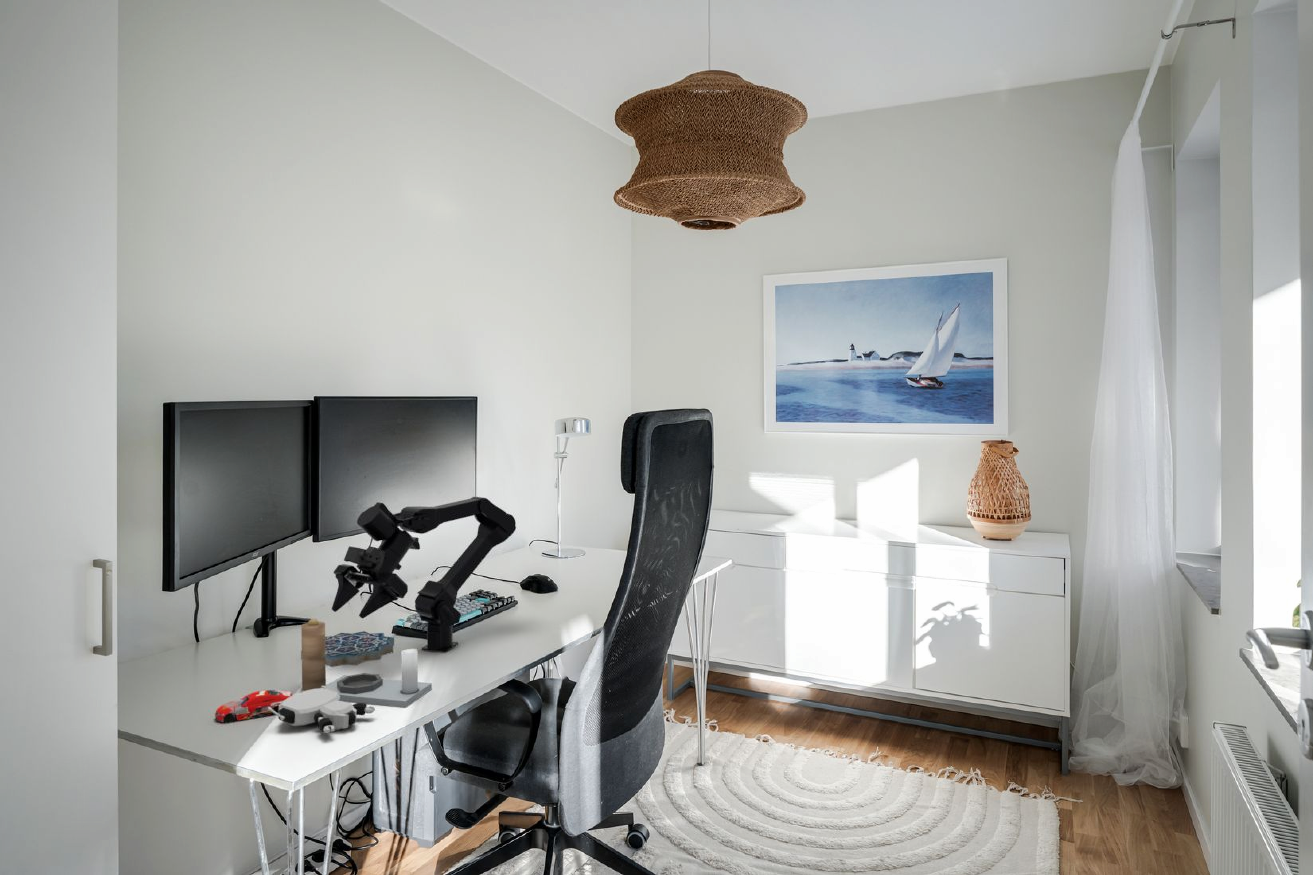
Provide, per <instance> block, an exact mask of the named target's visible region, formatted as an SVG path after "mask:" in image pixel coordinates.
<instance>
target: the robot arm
mask: <svg viewBox="0 0 1313 875" xmlns="http://www.w3.org/2000/svg"><path fill="white" fill-rule="evenodd" d="M473 516H474V518H475V520H476V521H477V522H478V523H479V525H478V528H477V534H476V536H475V537H474V539H473V541H471V543H470V544H469V545H468V546H467V548H466V549H465V550H464V551H463V553H462V554H460V556H459V557H458V558H457V560H456V561H455V562H454V563H453V565H452V566H451V567H450V568H449V569H448V570H447V572H446V573H445V574H444V575H443V576H442V578H441V579H439V580H437V581H434V580H428V581H427V582H426V583H425V584H424V586H423V587H422V588H421V590H419V591H417V594H418V595H417V596H416V598H415V601H414V608H415V611H416V613H417V614H418V615H419V618H420V620H421V621H422V622H426V623H427V625H426V626H427V627H426V630H427V632H426V642H427V644H426V645H424V646H422V647H421V651H426V650H428V651H429V652H438V651H441V652H443V653H447V652H449V651H450V650H452V649H453V648H455V647H457V646H458V645H459V642H458V641H453V626H455V625H457V624H459V623H460V619H461V616H462V613H461V612H459V611H458V610H457V609H456V608H455V607H454V606H455V605H456V602H457V597H458V592H459V591H460V589H461V588H462V586H463V585H464V584H465V583H466V582H467V581H468V579H469V578H470V576H472V575H473V573H474V571H475V570H476V569H477V568H478V567H479V565H480V564H482V562H483V560H484V559H485V558H486V557H487V555H488V554H489V553H490V551H492V550H493V548H495V547H497V546H499V545H501V544H503V543H504V542H506V541H507V540H508V539H509V538H510V537H511V536H512V535H514V533H515V532H516V529H517V526H516V524H517V522H516V519H515V516H513V515H512V514H510V513H507V512H506V511H505V510H504V509H502V508H501V507H498V505H496V504H494V503H492V501H491V500H489V499H488V498H487V497H480V496H472V497H471V498H468V499H463V500H462V499H461V500H458V501H453V502H448V503H445V504H440V505H435V506H405V507H404V508H402V509H401V510H400V512H397V513H392V512H391V511H390V510H389V509H388V507H387V505H385V503H384V502H376V503H375V504H374V505H373V506H370V507H368V508H367V509H365V511H362V512H361V513H360V514H359V516H358V518H357V520H356V523H357V526H358V527H359V528H361V529H362V530H363V531H364V532H365V533H366V534H367V535H368V536H369V537H370V538H371V539H372V540H373V541H375V542H381V541H382V542H381V543H380V545H379V546H378V547H376V546H375V547H374V546H368V547H367V548H361V547H356V546H350V545H349V546H348V548H347V551H346V554H345V556H344V558H343V561H344V562H347V563H348V562H350V563H353V564H355V565H356V567H355V566H354V565H350V564H345V563H342V564H339V565H337V567H336V568H335V569H334V570H333V574H334V575H335V578H336V580H337V583H338V588H337V592H336V594H335V598H334V599H333V600H334V601H333V604H332V607H331V610H332V611H333V612H334V613H336V612H338V611H339V610H340V609H341V608H343V607H344V605H346V604H348V602H349V601H351V600H352V598H354V597H355V596H357V594H358V593H360V589H361V588H362V587H364V586H365V584H366V585H372V593H371V594H370V596H369V597H368V599H367V600H366V602H365V604H364V605H363V607H362V608H361V610H360V612H359V615H358V616H359V618H361V619H364V618H366V617H368V616H370V615H371V614H373V613H374V612H377V611H378V610H379V609H381V608H383V607H384V606H387V605H389V604H391V603H392V602H394V601H398V599H404V598H405V596H406V594H407V593H408V590H409V588H408V587H409V585H408V583H406V582H405V581H404V580H403V579H402V578H401V577H400V576H399V575H398V574H397V573H394V571H395V570H397V571H400V570H401V569H402V568H403V567H402V565H401V564H400V563H401V562H402V561H403V559H404V557H405V556H406V555H407V553H408V552H409V550H420V549H421V546H420V542H419V540H420V538H419V537H414V536H412V535H411V534H410V533H413V534H419V535H422V534H427V533H429V532H431V531H434V530H435V529H436V528H438V527H439V526H440V525H442V524H444V523H448V522H452V521H456V520H461V519H464V518H469V517H473ZM456 645H457V646H456ZM428 651H427V652H428ZM441 652H440V653H441Z"/></svg>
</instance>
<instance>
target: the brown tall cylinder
mask: <svg viewBox="0 0 1313 875" xmlns="http://www.w3.org/2000/svg"><path fill="white" fill-rule="evenodd" d="M300 631H301V650H302V659H301V690H302V692H304V691H307V690H311V689H319V688H322V687H321V686H325V685H327V679H326V676H327V674H326V673H327V672H326V671H327V670H326V669H327V668H326V666H327V665H326V659H325V637H326V623H325V621H319V620H317V618H311V619H309V620H308V622H305V623H302V625H301V630H300Z"/></svg>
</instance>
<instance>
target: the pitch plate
mask: <svg viewBox="0 0 1313 875" xmlns="http://www.w3.org/2000/svg"><path fill="white" fill-rule="evenodd" d="M400 652H401V653H400V654H401V679H391V678H390V679H388V678H382V676H381V675H380V674H378V673H367V672H366V673H365V672H364V673H358V674H351V675H347V674H344V675H342V676H340V677H338V678H336V679H335V680H333V681H331V682H329V683H326V685H325V688H327V689H328V690H331V691H334V692H337V693H338V694H339V695H340V701H343V702H348V703H355V704H356V703H363V704H368V705H379V706H386V707H395V708H396V707H397V708H407V707H408V706H411V704H413V703H414V702H416V701H417V700H419V698H421V697H422V696H424V695H426V694H427V693H428V692H430V691H431V690H432V689H433V688H432V686H433V685H432V684H433V683H431V682H421V681H419V678H418V662H419V661H418V649H417V648H406V649H403V650H401V651H400Z"/></svg>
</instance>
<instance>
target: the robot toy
mask: <svg viewBox="0 0 1313 875" xmlns="http://www.w3.org/2000/svg"><path fill="white" fill-rule="evenodd" d="M321 687H322V688H319V689H311V690H307V691H301V692H298V693H297V692H296V693H295V694H292V696H291V697H289V698H287V699H286V700H284V701H283V702H282V703H281V704H280V705H279V713H277V712H275V711H274V710H272V708H270V707H268V710H269V711H271V712H273V713H274V714H276V715H275V716H277V718H278V719H279V721H281V722H284V723H287V724H289V725H290V726H292V727H302V726H306V725H311V724H313V723H317V724H318V728H319V730H320V731H321V732H322V733H326V734H327V733H330V732H335V731H339V730H341V729H347V728H349V726H353V725H356V723H357V716H365V715H366V714H373V713H374V711H375V710H376V709H375V707H374V706H372V705H369V706H367V704H366V703H356V702H355V703H353V704H352V702H346V701H340V695H339V694H338V693H337V692H334V691H331V690H328V689H327V688H325V686H321Z"/></svg>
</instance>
